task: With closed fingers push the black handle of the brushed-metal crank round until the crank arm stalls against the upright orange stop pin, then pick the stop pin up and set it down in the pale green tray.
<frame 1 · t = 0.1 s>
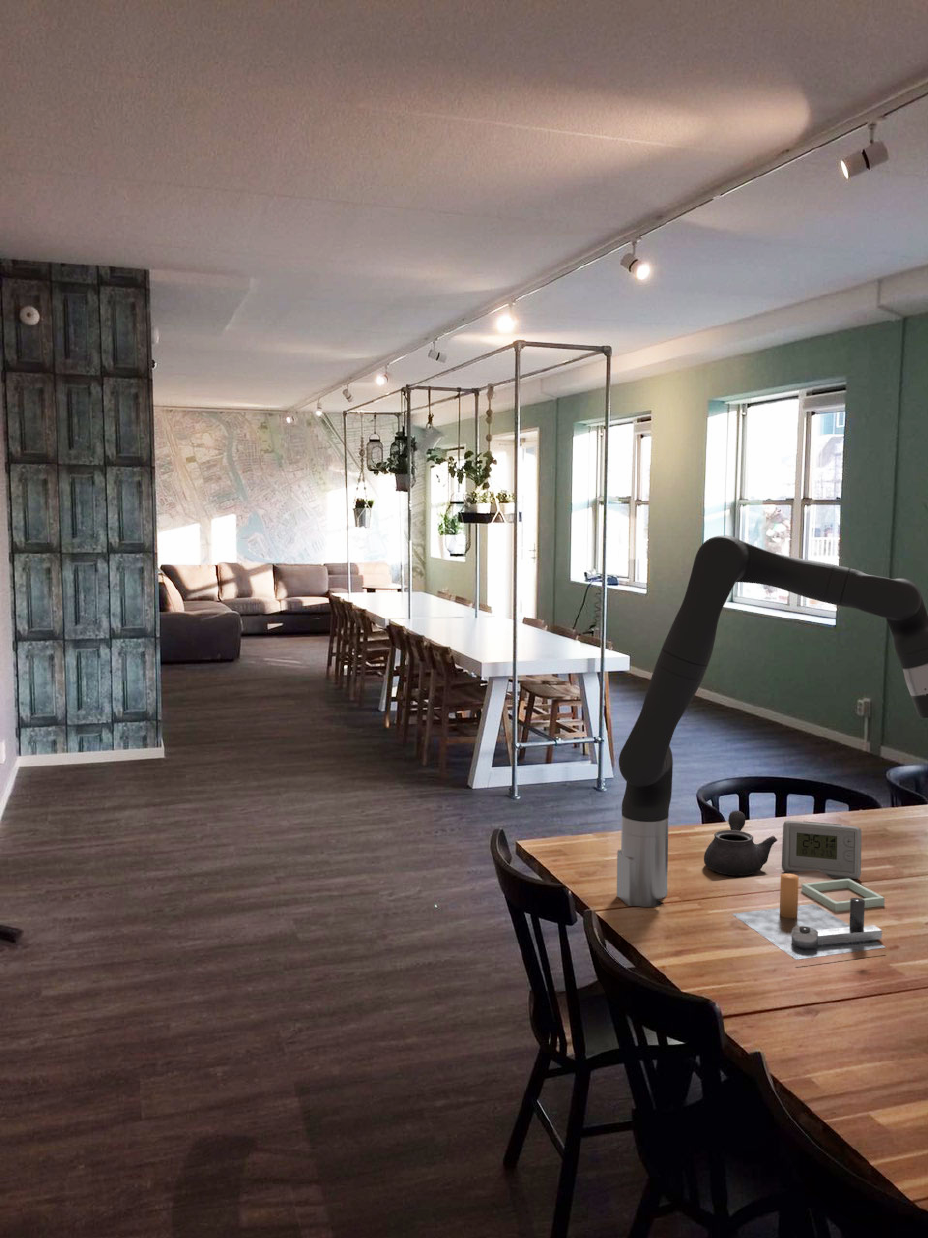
stop pin: (788, 915, 195), point 1 cm above the table, touching crank base
teapot: (737, 865, 228), on the table
crank base: (805, 937, 188), on the table
tray: (841, 905, 204), on the table
digital clock: (820, 874, 222), on the table
crank: (836, 921, 183), point 5 cm above the table, hinge at -5.0°
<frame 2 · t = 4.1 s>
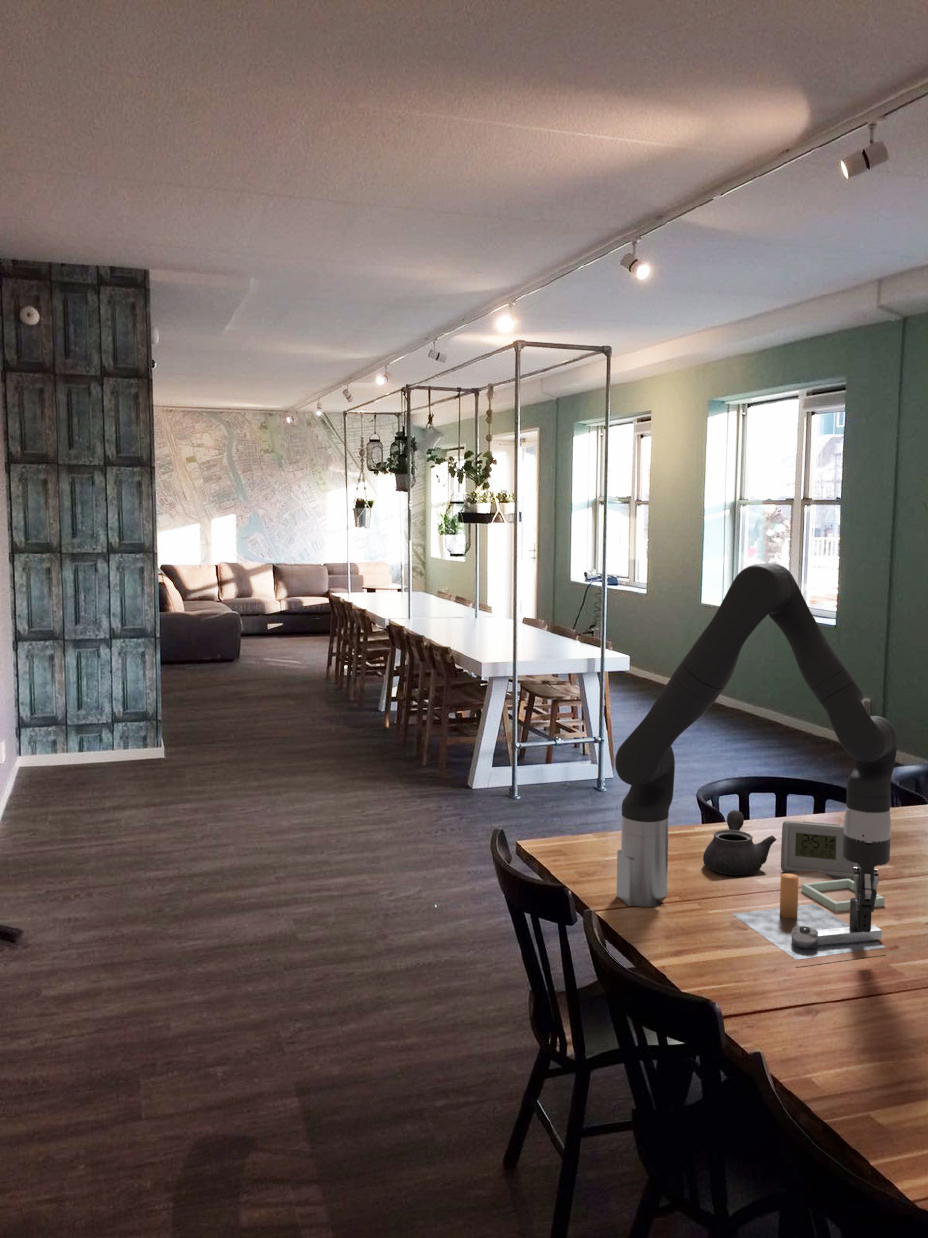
hand: (863, 930, 179), 5 cm above the table, tool pointing down, fingers closed
crank: (836, 921, 183), point 5 cm above the table, hinge at -4.8°, touching gripper
everything else where it was.
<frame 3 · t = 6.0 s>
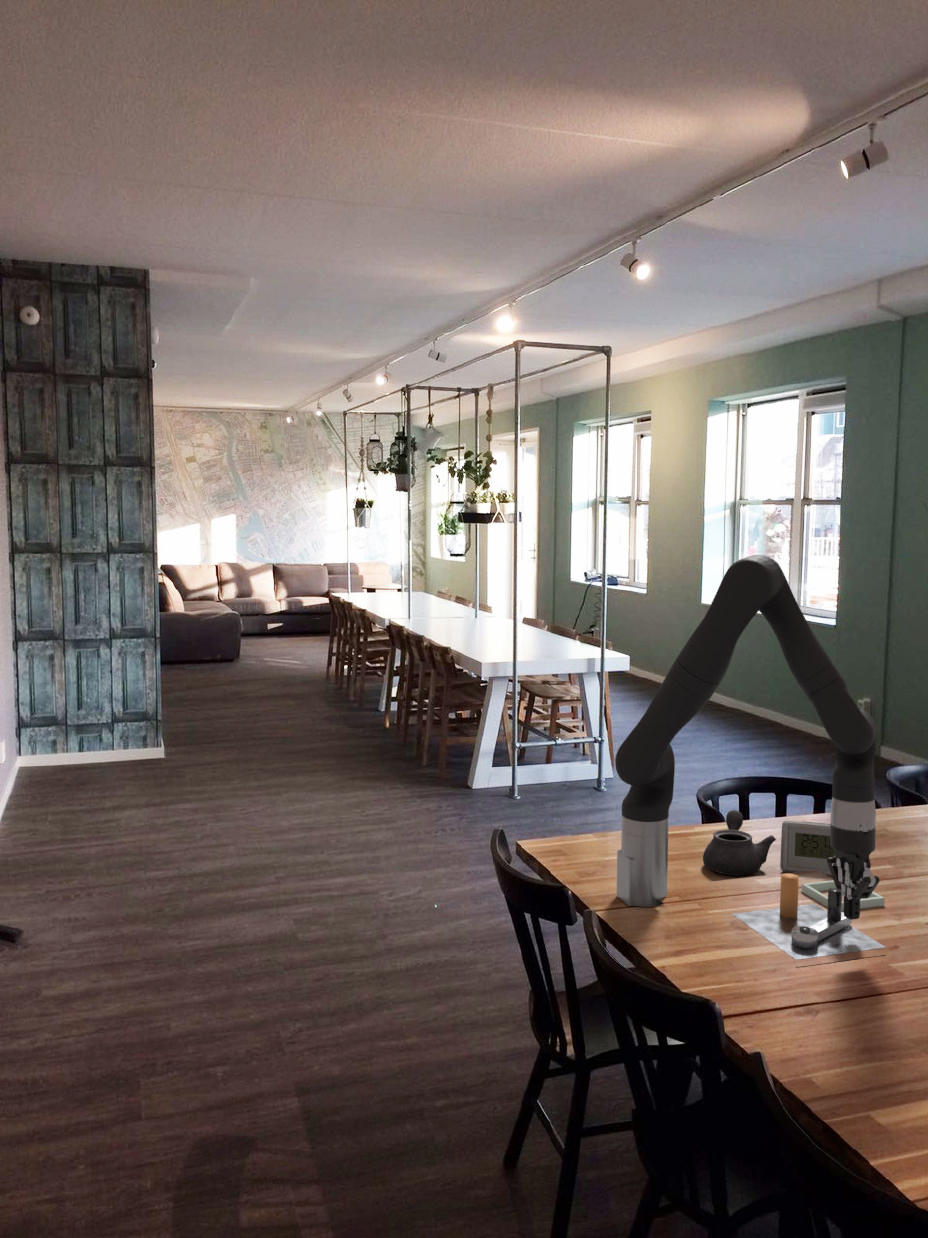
hand: (851, 918, 184), 5 cm above the table, tool pointing down, fingers closed
crank: (822, 915, 185), point 5 cm above the table, hinge at 25.4°, touching gripper
everything else where it was.
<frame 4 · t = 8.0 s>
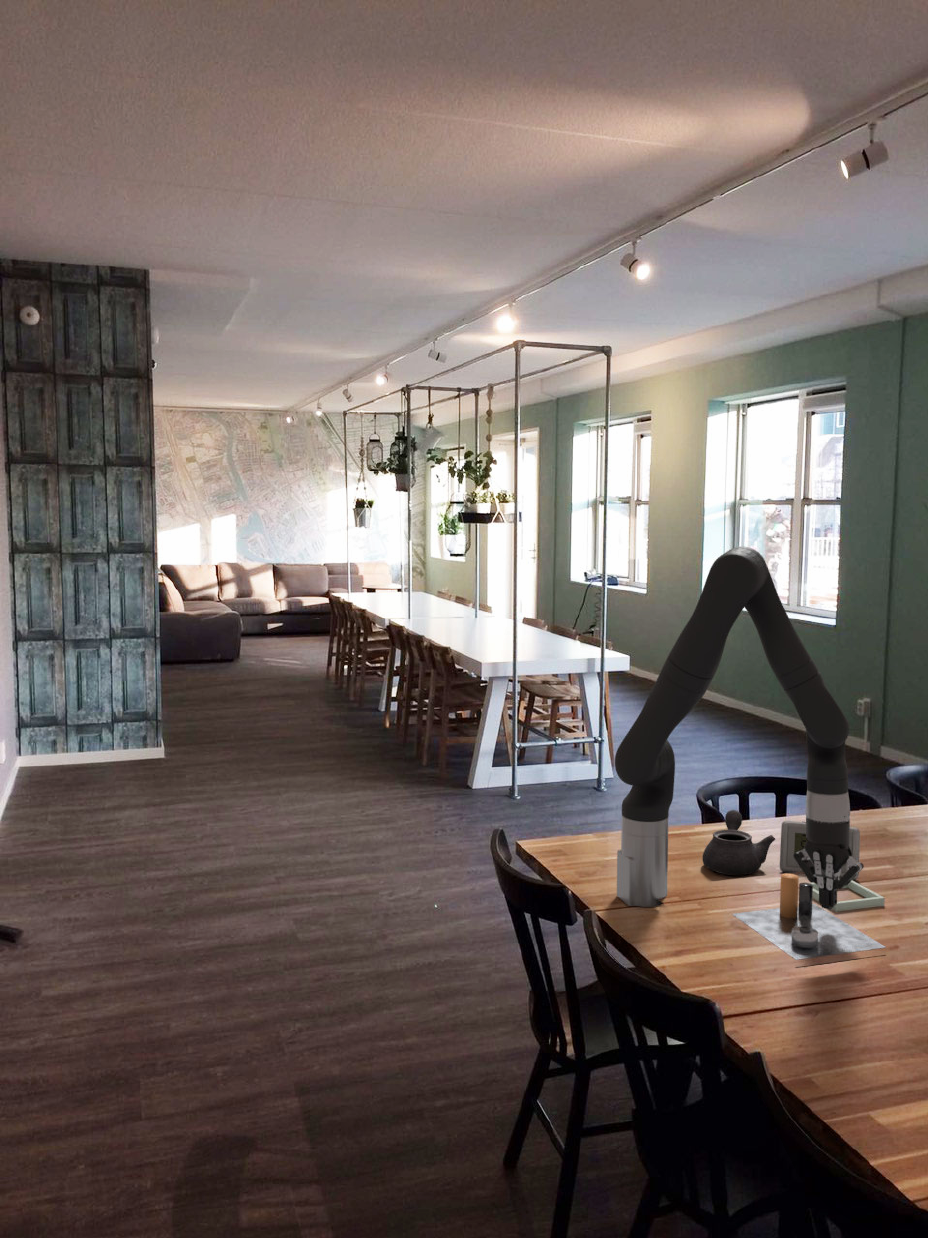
hand: (828, 907, 189), 5 cm above the table, tool pointing down, fingers closed
crank: (805, 911, 187), point 5 cm above the table, hinge at 55.6°, touching gripper
everything else where it was.
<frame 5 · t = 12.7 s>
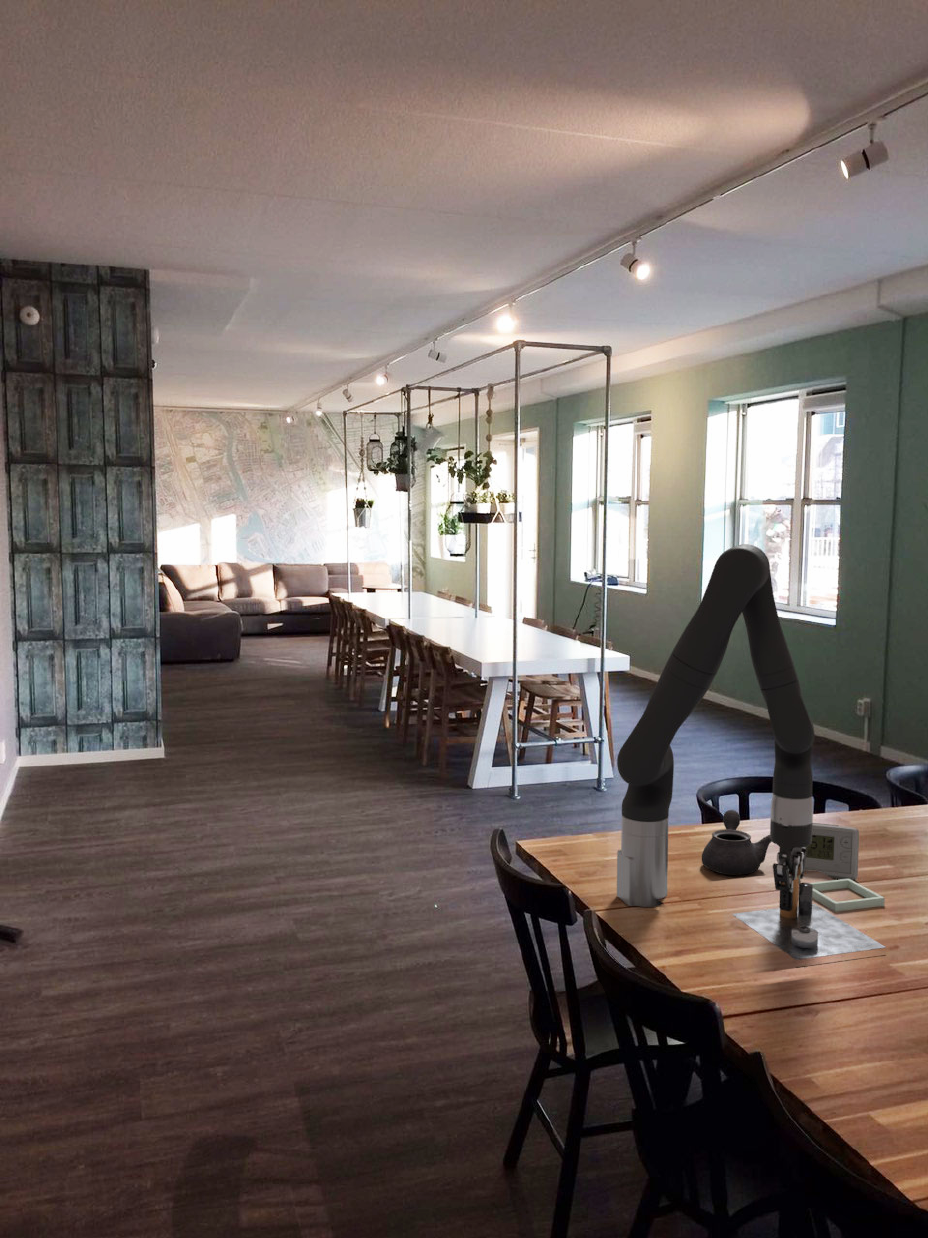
hand: (788, 906, 195), 3 cm above the table, tool pointing down, fingers closed on stop pin, 3 cm apart
stop pin: (788, 915, 195), point 1 cm above the table, touching crank base, gripper
crank: (805, 911, 187), point 5 cm above the table, hinge at 55.7°
everything else where it was.
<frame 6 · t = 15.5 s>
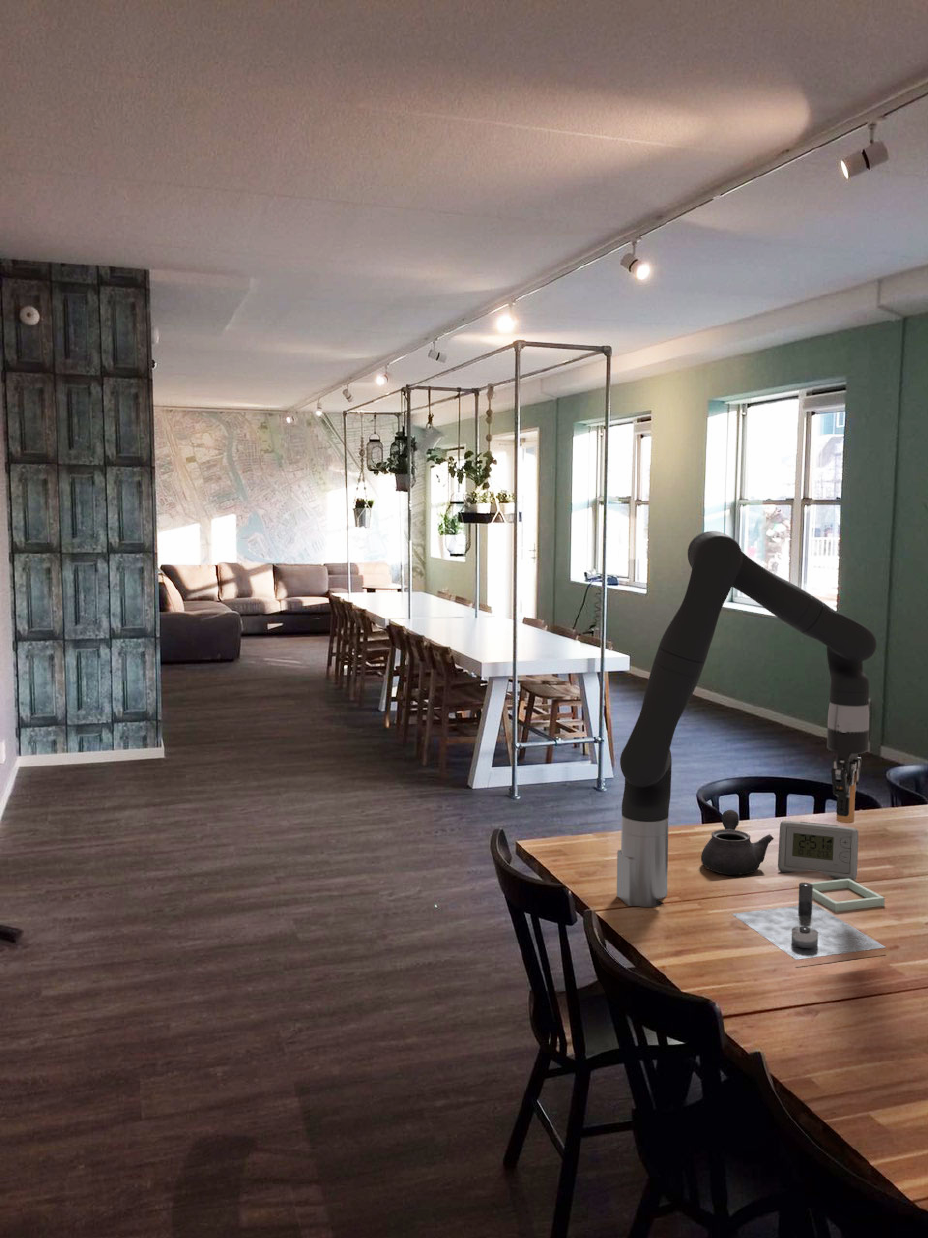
hand: (845, 812, 202), 19 cm above the table, tool pointing down, fingers closed on stop pin, 3 cm apart
stop pin: (845, 821, 202), point 17 cm above the table, touching gripper
when the fingers open (4 cm above the table, at t = 18.5 s): stop pin drops 1 cm, resting on tray.
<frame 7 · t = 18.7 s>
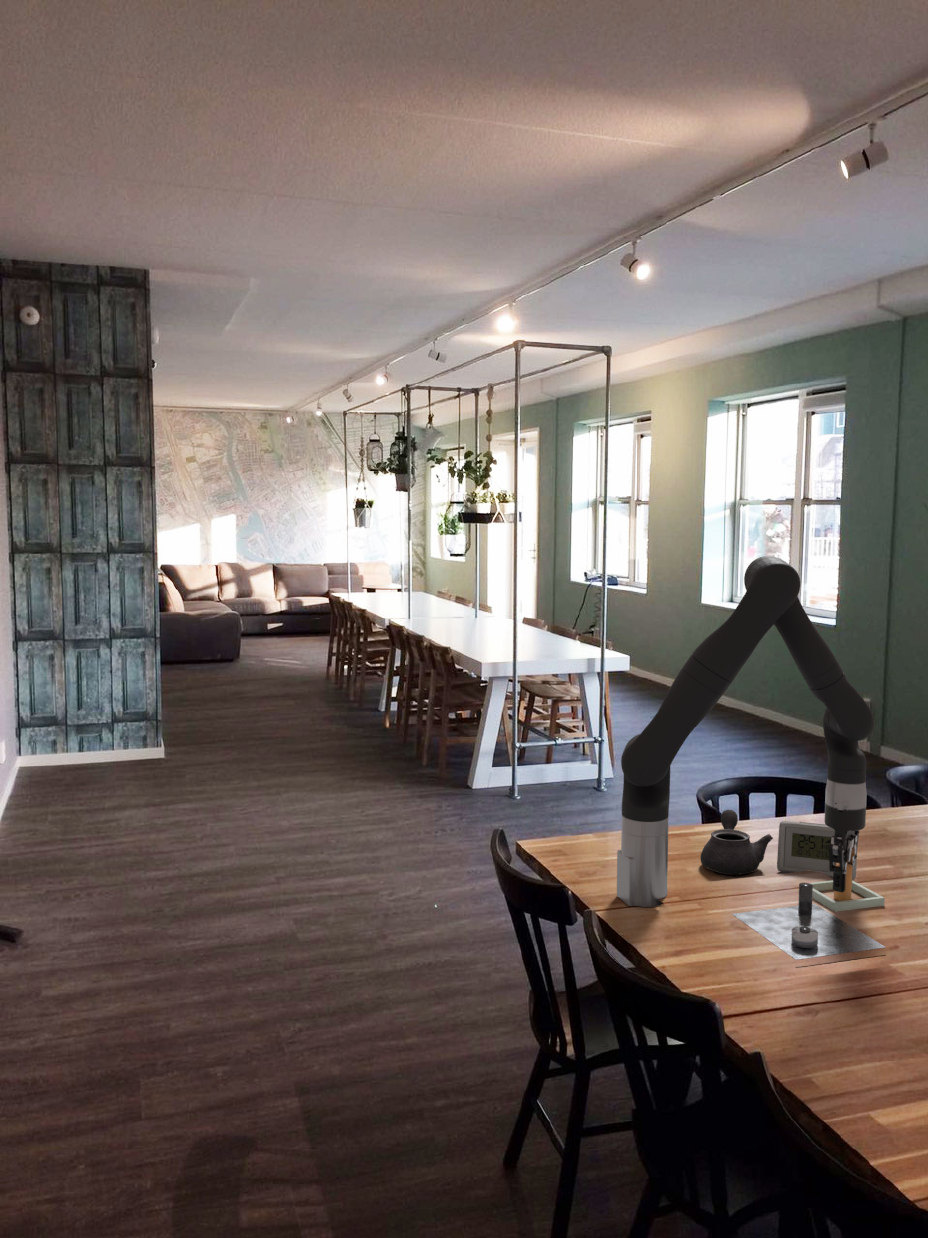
hand: (842, 886, 203), 4 cm above the table, tool pointing down, fingers open, 4 cm apart
stop pin: (842, 902, 204), point 1 cm above the table, touching tray
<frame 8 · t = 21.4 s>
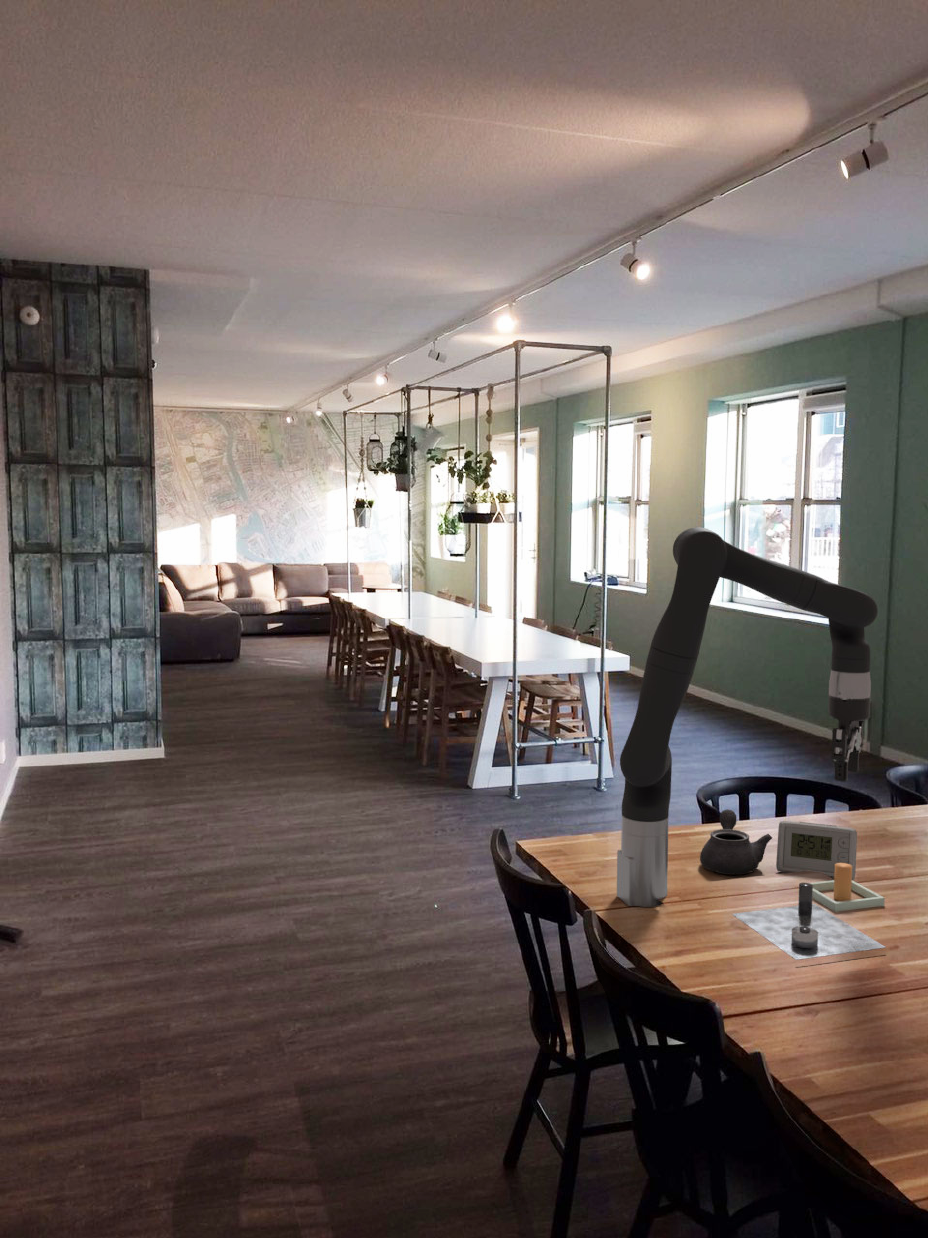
hand: (846, 776, 201), 26 cm above the table, tool pointing down, fingers open, 8 cm apart
at the end: crank at +56° (first picture: -5°); stop pin inside the target area on the tray (0.1 cm from its centre), point 0.6 cm above the tray's base; the gripper is holding nothing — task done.
